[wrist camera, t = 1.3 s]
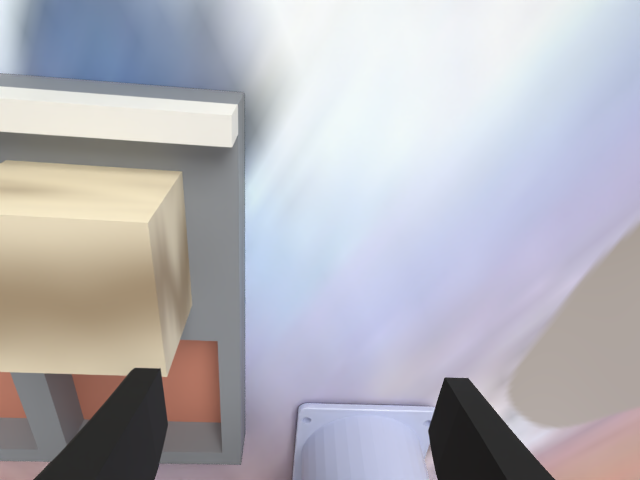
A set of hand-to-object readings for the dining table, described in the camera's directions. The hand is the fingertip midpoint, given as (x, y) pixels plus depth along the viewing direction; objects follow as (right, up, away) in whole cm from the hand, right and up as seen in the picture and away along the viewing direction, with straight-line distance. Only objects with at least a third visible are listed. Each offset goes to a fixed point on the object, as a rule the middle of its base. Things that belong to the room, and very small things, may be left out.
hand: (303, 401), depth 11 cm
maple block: (-8, +4, +6) cm, 11 cm away
